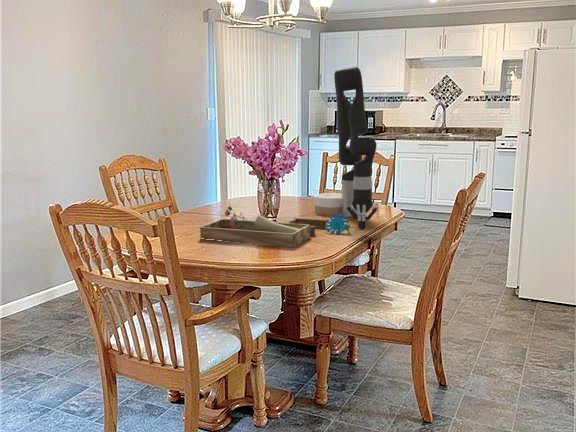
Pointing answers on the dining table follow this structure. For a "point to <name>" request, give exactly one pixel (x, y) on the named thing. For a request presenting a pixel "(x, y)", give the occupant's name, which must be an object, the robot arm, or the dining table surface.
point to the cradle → (309, 223)
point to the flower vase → (261, 224)
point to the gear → (337, 224)
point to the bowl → (328, 203)
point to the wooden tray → (254, 233)
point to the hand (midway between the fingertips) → (362, 229)
